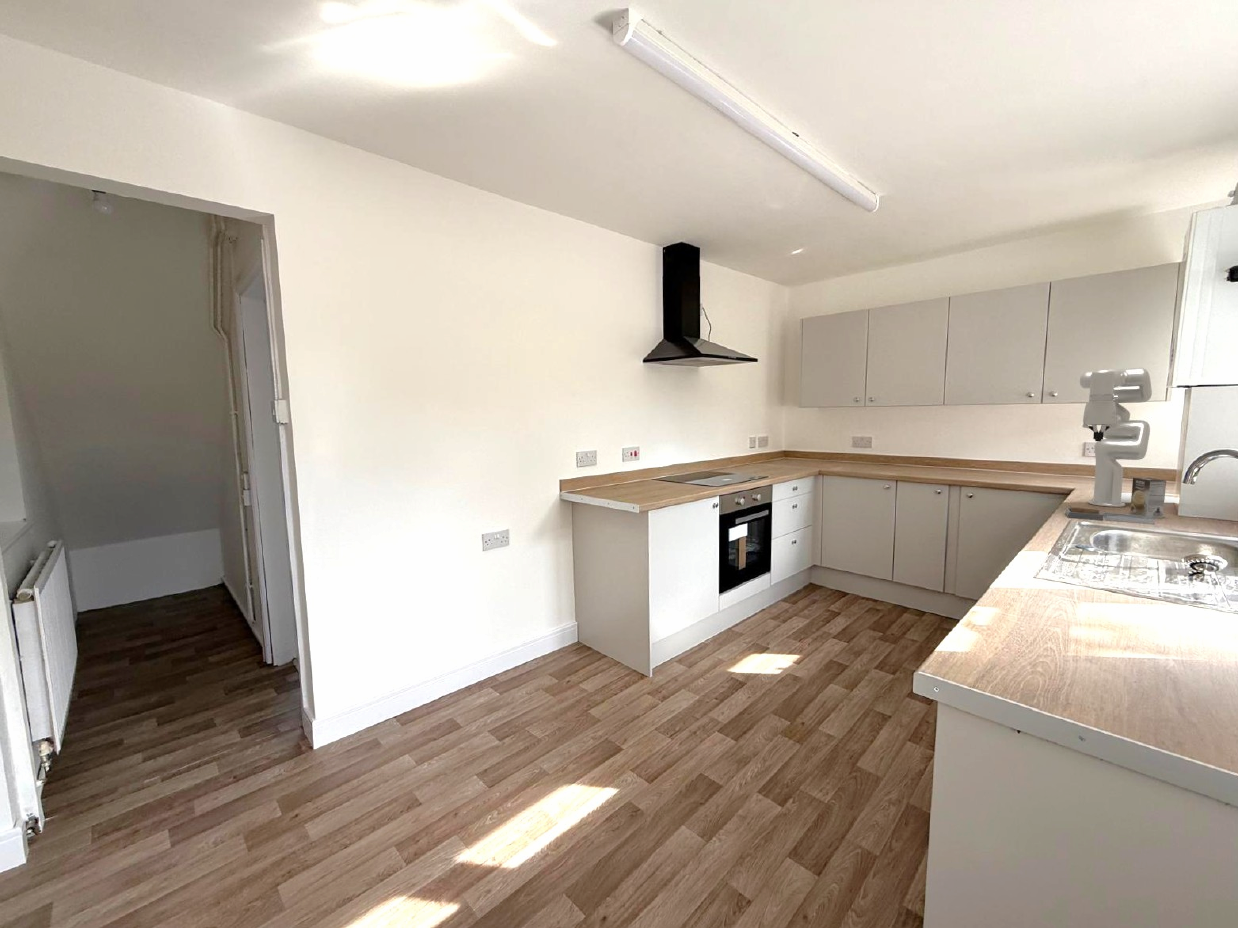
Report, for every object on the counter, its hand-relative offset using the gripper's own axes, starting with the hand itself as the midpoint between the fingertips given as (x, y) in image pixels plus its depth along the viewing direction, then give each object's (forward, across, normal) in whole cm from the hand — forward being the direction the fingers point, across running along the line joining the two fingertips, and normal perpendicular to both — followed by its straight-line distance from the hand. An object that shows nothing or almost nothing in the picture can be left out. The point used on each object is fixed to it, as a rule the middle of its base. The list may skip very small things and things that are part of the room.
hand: (1098, 441), depth 221 cm
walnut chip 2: (+32, +3, +13) cm, 35 cm away
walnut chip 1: (+32, +7, +13) cm, 35 cm away
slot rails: (+32, -9, +13) cm, 36 cm away
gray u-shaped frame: (+32, +4, +13) cm, 35 cm away
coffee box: (+32, -17, -2) cm, 36 cm away
